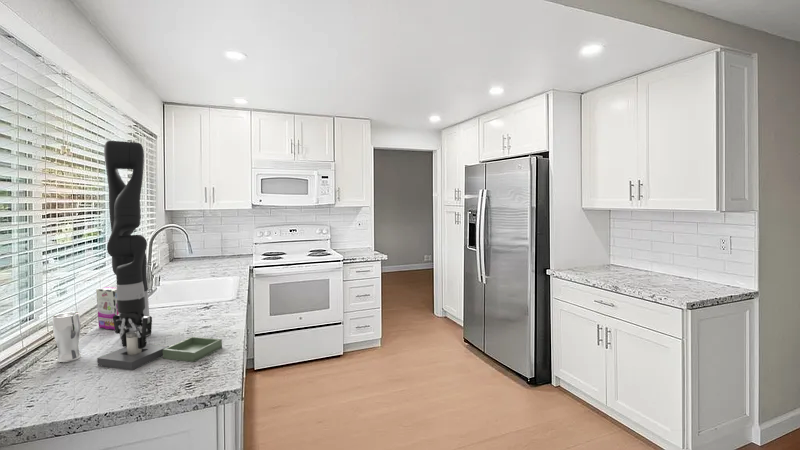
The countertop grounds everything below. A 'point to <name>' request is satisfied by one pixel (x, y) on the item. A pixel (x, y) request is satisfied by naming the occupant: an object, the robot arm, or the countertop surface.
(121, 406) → the countertop surface
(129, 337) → the fuse
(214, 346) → the tray
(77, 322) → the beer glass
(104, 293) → the candy bar box
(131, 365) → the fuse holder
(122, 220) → the robot arm
